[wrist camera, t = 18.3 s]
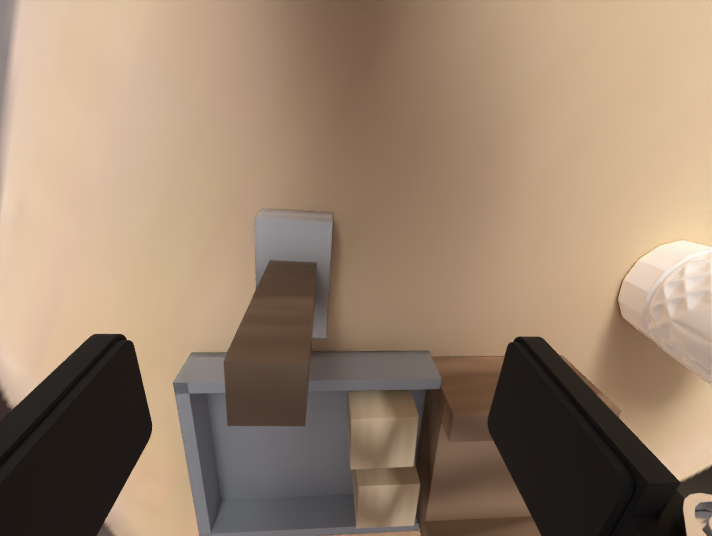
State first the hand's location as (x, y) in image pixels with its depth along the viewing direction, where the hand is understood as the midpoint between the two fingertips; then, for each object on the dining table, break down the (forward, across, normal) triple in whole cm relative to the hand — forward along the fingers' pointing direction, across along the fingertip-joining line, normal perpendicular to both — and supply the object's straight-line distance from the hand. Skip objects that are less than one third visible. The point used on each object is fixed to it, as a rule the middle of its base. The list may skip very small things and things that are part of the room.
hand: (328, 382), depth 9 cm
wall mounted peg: (+13, +2, +2) cm, 13 cm away
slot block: (+12, -12, +15) cm, 23 cm away
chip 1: (+10, -6, +12) cm, 17 cm away
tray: (+12, +1, +16) cm, 20 cm away
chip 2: (+10, -6, +18) cm, 21 cm away
